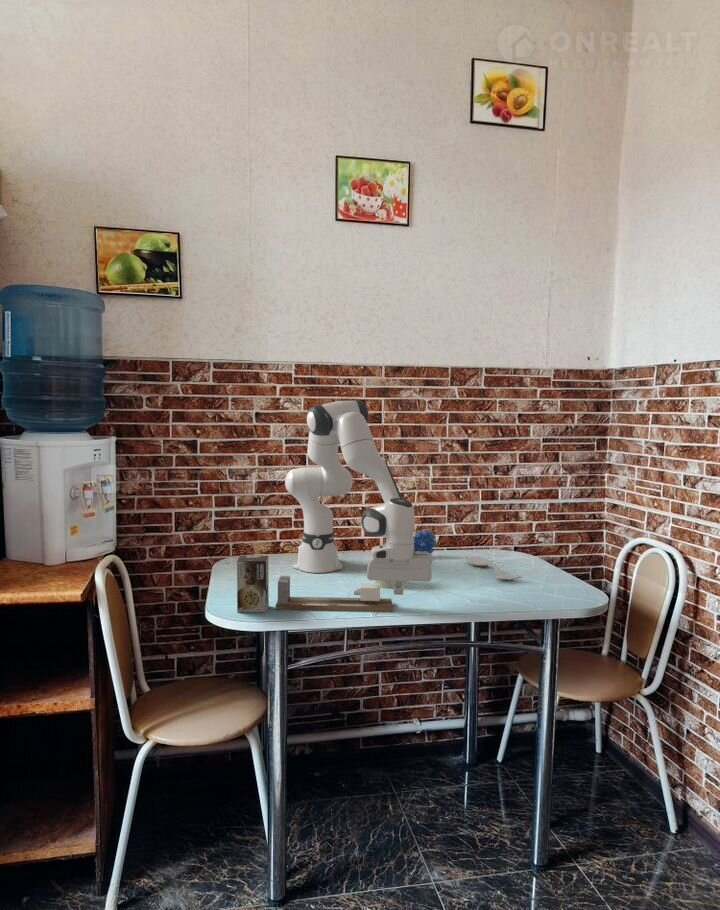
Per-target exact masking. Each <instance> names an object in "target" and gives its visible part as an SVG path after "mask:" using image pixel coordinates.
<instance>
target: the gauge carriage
mask: <svg viewBox="0 0 720 910" xmlns="http://www.w3.org/2000/svg"><path fill="white" fill-rule="evenodd" d="M353 595H354V596H360V597H359V598H360V601H369V604H371V601H380V598H381V587H380V584H376V583H375V582H374V583H372V582H371V583H368V582H367V583H363V582H361V583H360V588H357V587H356V588H354V589H353Z"/></svg>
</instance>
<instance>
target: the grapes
mask: <svg viewBox="0 0 720 910" xmlns="http://www.w3.org/2000/svg"><path fill="white" fill-rule="evenodd" d="M413 538H414V551H420V552H424V551H426V552H428V553H430V554H431V555H432V553H433V552H434V547H435V546H437V540H436V539H435V538H436V535H435V533H434V532H430V530H428V529H424V530H423V531H422V532H421V531H417V532H415V533H414V537H413Z"/></svg>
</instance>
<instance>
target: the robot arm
mask: <svg viewBox="0 0 720 910" xmlns="http://www.w3.org/2000/svg"><path fill="white" fill-rule="evenodd" d="M369 416H370V413H369V409H368V407H367V405H366V404H365V403H364V402H363V401H362V400H359V399H351V400H337V401H333V402H327V403H324V404H316V405H313V406H311V407H310V408H309V409H308V411H307V412H306V418H305V419H306V424H307V429H308V431H309V433H308V439H307V440H308V441H307V451H306V453H307V456H308V458H309V460H310V461H312V462H313V463H314V464H316V465H318V466H317V467H316V466H315V467H313V466H312V467H307V466H303V467H298V468H297V467H296V468H293V469H290V470H289V471H288V472H287V474H286V475H285V478H284V485H285V489H286V491H287V492H288V494H290V496H292V497H293V498H294V499H295V500H296V501H297V502H298V503H299V505H300V507H301V510H302V514H303V531H302V535H301V536H302V537H301V538H302V542H301V544H300V545H299V546H298V553H297V555H298V557H297V562H295V563H294V564H293V565H292V567H293V569H297V570H300V571H303V572H306V573H314V574H315V573H316V574H319V573H321V574H324V573H330V572H335V571H337V570H338V571H339V570H342V569H343V565H342V563H341V561H339V556H338V547H337V545H336V544H335V542H334V541H335V533H334V526H333V525H334V513H333V511H332V509H331V508H329V507H328V506H327V505H324V504H322V503H320V502H319V501H318V498H319V497H338V496H342V495H346V494H349V492H350V491H351V490H352V487H353V482H354V479H353V476H352V474H351V472H350V471H349V470H348V469H347V468H346V467H345V466H343V465H342V463H341V461H340V459H339V445H340V450H341V453H342V457H343V460H344V462H345V464H346V466H348V467H349V468H350V469H351V470H353V471H354V472H357V473H359V474H363V475H364V476H367V477H369V478H370V479H372V480H373V481H374V482H375V484H376V485H377V488H378V491H379V493H380V495H381V498H382V500H383V504H380V505H376V506H371V507H369V508H366V509H365V510H364V512H363V514H362V516H361V521H360V523H361V527H362V530H363V532H364V533H365V534H366V535H368V536H369V537H374V538H378V537H384V538H385V543H384V544H383V543H382V544H380V545H376V546H373V547H372V548H371V552H370V553H371V556H370V557H369V558H368V563H367V569H366V579H367V580H368V581H370V582H371V581H374V582H375V581H391V585H392V587H393V588H392V589H393V595H395V596H396V595H399V596H403V595H404V591H405V588H406V587H407V586H408V582H426V583H427V582H428V583H429V582H430V581H431V580H432V577H433V575H432V564H433V563H434V559H433V558H434V557H433V554H432V553H431V554H430V553H428V552H426V551H424V552H420V551H414V538H415V537H414V531H415V522H416V520H415V517H416V516H415V515H416V514H415V508H414V505H413V503H412V502H411V501H409V500H408V499H405V498H403V497H402V494H401V493H400V490H399V487H398V485H397V483H396V481H395V478H394V476H393V474H392V470H391V469H390V467H389V464H387V462H386V461H385V460H384V458H383V457H382V456H381V454H380V453H379V450H378V448H377V446H376V443H375V441H374V437H373V435H372V431H371V429H370V426H369V424H368V422H369ZM319 466H320V467H319ZM395 581H401V586H400V587H397V588H396V587H395V585H394V584H395Z"/></svg>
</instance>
